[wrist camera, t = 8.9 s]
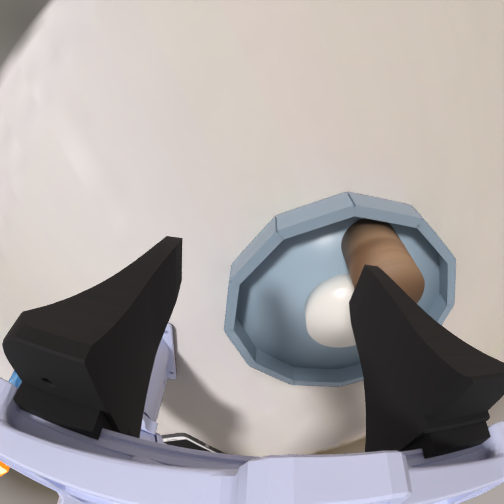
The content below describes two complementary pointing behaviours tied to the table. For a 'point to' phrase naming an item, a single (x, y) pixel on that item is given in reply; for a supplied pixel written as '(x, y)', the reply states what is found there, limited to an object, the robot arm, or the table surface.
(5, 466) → the orange juice
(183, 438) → the cell phone
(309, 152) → the table surface
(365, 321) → the robot arm
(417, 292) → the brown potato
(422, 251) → the round tray
